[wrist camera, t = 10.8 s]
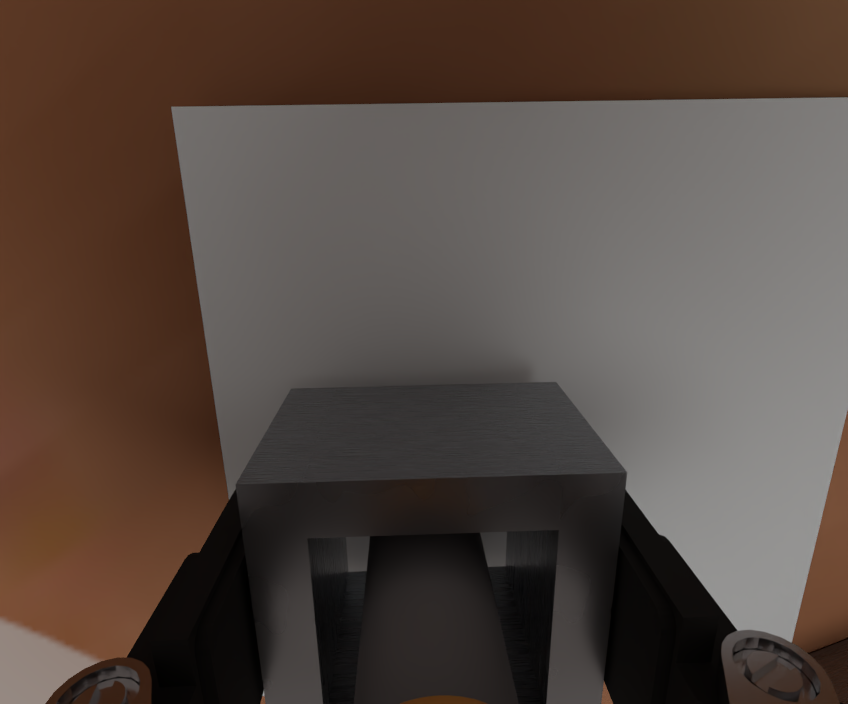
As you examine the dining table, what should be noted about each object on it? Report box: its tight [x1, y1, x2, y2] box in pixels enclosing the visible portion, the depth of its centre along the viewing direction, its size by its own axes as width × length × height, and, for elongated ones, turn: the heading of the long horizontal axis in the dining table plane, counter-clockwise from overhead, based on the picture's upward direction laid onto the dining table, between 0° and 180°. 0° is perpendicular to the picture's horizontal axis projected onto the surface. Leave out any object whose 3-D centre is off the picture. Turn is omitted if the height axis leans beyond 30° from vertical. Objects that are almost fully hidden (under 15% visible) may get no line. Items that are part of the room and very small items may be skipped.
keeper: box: [171, 97, 848, 704], centre depth 10 cm, size 16×16×10 cm
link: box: [235, 382, 627, 704], centre depth 11 cm, size 6×6×4 cm
